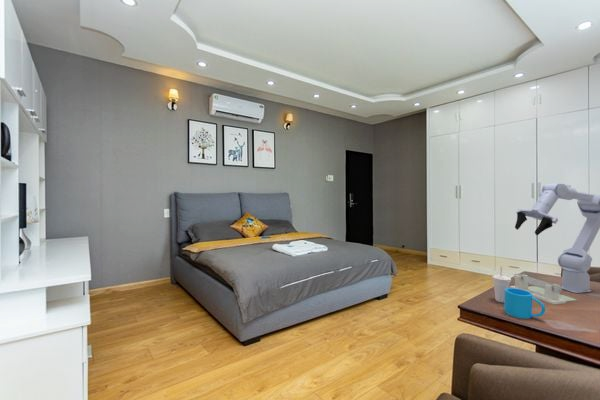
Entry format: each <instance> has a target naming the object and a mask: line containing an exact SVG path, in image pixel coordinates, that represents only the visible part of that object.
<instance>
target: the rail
mask: <svg viewBox="0 0 600 400" xmlns="http://www.w3.org/2000/svg"><path fill="white" fill-rule="evenodd" d="M515 275H519V276H521V281H523V282H526V283H528V285H531V286H537V287H540V288H543V289H545V285H546V284H547V285H551V286H552V291H553V292H556V293H558V292H560V293H562V289H561V286H562V285H560V286H557V285H558V284H557V285H554V284H555V283H550V282H547V281H544V280H541V279H538V278H534V277H531V276H529V275H528V276H525V275H526V274H524V275H523V274H521V273H514V275H513V276H514V278H513V279H514V280H515Z"/></svg>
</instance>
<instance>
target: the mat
mask: <svg viewBox="0 0 600 400" xmlns="http://www.w3.org/2000/svg"><path fill="white" fill-rule="evenodd" d="M528 288H530V289H533V290H536V291H539V292H542V293H544V294H545V289H544V288H541V287H538V286H535V285H531V286H528ZM559 299H562V300H565V301H566V303H568V302H575V301H576V302H577V301H578V299H576V298H572V297H571V296H567V295H565V294H561V293H560V295H559Z"/></svg>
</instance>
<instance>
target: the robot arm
mask: <svg viewBox="0 0 600 400" xmlns="http://www.w3.org/2000/svg"><path fill="white" fill-rule="evenodd" d="M540 192H541V193H540V194H539V197H538V199H537V200H536V202H535V204H533V206H532V207H531V209H522V208H521V209H520V208H518V209H517V210H516V214H517V215H516V222H515V225H514V228H515V229H516V230H519V229H520V228H521V226H522V225H523V224H524V223H525V222H526V221H528V218H527V217H529V218H532V219H535V220H537V221H540V223H539V225H538V226H537V228H536V229H535V231H534V234H535V236H539V235H541V233H542V232H544V231H546V230H548V229H550V228H552V227H553V224H555V225H556V224H557V223H558V222H559V218H558V217H556V216H553V215H550V214H549V212H550V211H551V210H552V208H553V207H554V206H555V204H556V203H557V201H558V199H561V200H566V201H572V200H577V206H578V209H579V211H580V213H581V215H582V216H583V217H584V218H586V220H585V222H584V224H583V225H582V227H581V230H580V232H579V233H578V236H577V237H576V239H575V241H574V243H573V244H572V246H571V247H569V248H567V249H565V250H563V252H562V253H561V254H560V255H559V256H558V258H557V264H558V265H559V266H560V269H562V273H561V274H562V275H561V285H560V286H561V290H565V291H568V292H572V293H574V294H582V293H591V292H592V290H591V289H590V279H591V278H590V275H589V273H588V271H589V270H590V268H591V265H592V261H593V258H592V256H591V255H590V254H589V253H588V251H589V250H590V247H591V246H592V243H594V240H595V238H596V237H597V234H598V232H599V230H600V195H599V194H594V193H587V192H583V191H577V189H576V188H574V187H572V186H571V185H566V184H565V183H545V185H543V186H542V187H541V191H540Z"/></svg>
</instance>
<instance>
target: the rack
mask: <svg viewBox="0 0 600 400" xmlns="http://www.w3.org/2000/svg"><path fill="white" fill-rule="evenodd" d="M522 275H525V276H528V277H529V275H527V274H523V273H522ZM553 284H554V285H557V286H561V285H560V284H557V283H553ZM528 287H529V283H526V282H523V281H521V276H519V275H515V279H514V285H510V286H509V288H516V289H522V290H525V291H528V292H530V293H532V294H533V296H532V297H534V298H536V299H538V300H539V301H543V302H546V303H548V304H550V305H551V304H552V305H561V304H562V305H563V304H567V302H566V301H565V300H562V299H559V295H560V294H561V292H558V293H556V292H553V291H552V286H551V285H547V284H546V285H545V294H544V293H542V292H539V291H536V290H533V289H530V288H528Z"/></svg>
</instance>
